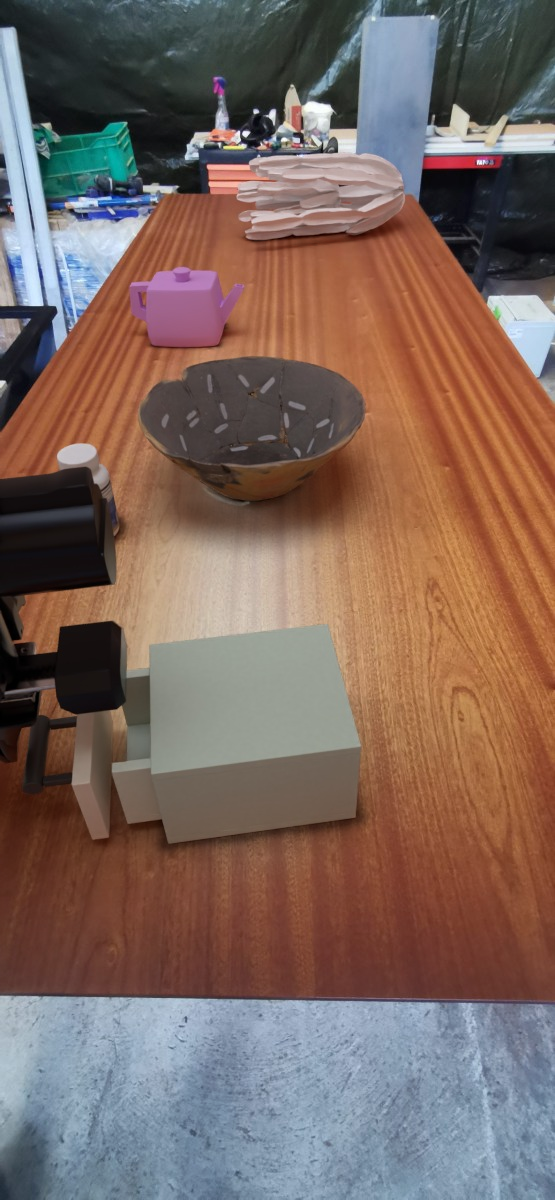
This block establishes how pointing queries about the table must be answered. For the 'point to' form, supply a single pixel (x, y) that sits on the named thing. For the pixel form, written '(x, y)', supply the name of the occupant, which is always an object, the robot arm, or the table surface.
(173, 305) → the teapot
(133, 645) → the table surface
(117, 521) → the pill bottle
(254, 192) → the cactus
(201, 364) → the bowl
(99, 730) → the drawer
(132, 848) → the table surface
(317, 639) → the cabinet
